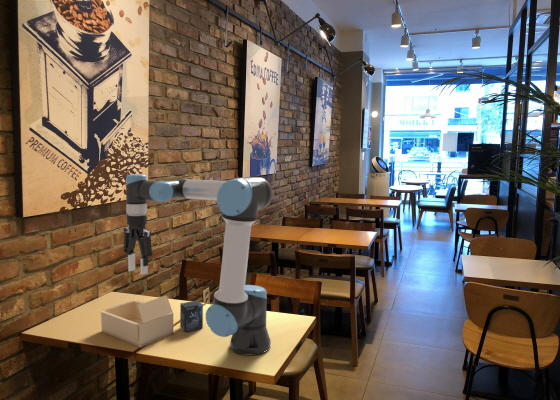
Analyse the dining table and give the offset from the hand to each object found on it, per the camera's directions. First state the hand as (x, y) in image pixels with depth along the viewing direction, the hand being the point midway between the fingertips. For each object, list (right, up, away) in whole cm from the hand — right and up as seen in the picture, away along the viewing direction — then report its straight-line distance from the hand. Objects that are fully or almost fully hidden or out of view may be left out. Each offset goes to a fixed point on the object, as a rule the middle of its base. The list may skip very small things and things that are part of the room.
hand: (138, 272), depth 174 cm
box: (+19, -25, +9) cm, 33 cm away
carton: (-1, -25, +3) cm, 25 cm away
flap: (+9, -17, -5) cm, 20 cm away
